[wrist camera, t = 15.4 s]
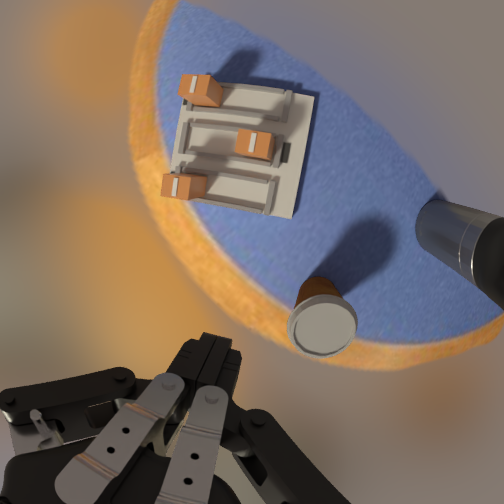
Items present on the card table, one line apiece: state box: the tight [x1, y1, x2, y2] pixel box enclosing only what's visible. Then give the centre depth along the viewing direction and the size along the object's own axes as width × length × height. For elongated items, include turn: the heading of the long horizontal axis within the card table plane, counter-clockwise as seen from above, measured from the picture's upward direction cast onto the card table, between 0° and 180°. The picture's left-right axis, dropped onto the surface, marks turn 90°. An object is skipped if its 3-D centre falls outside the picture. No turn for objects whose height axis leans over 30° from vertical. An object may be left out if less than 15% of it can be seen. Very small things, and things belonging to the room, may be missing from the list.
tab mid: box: [235, 129, 275, 160], centre depth 34 cm, size 4×3×7 cm
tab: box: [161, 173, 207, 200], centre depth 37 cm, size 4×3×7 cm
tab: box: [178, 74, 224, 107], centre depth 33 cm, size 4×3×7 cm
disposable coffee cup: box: [287, 277, 358, 358], centre depth 39 cm, size 10×10×12 cm
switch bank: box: [170, 82, 314, 219], centre depth 39 cm, size 20×19×2 cm
